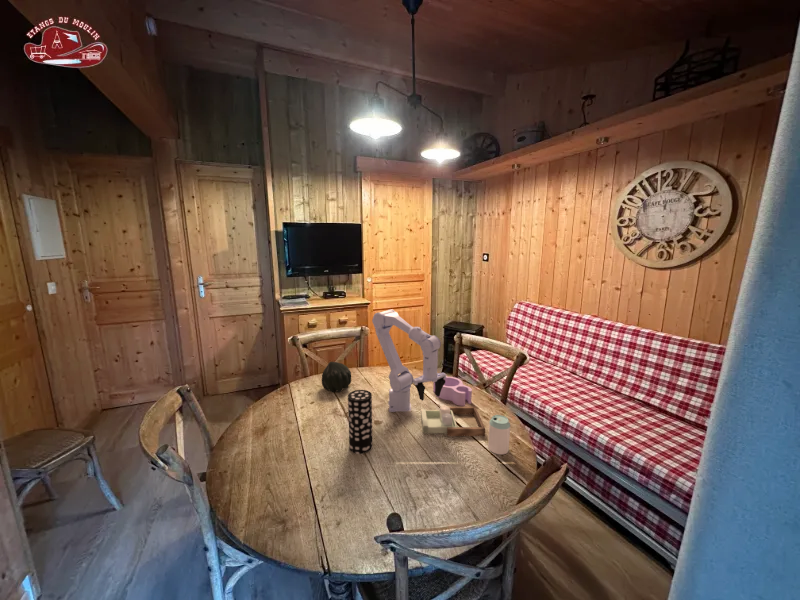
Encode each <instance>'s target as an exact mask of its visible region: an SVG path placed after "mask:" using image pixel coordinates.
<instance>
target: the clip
mask: <svg viewBox="0 0 800 600" xmlns="http://www.w3.org/2000/svg"><path fill="white" fill-rule="evenodd" d="M444 380H445V384H444V386H443V387H442V389H441V392H440V396H439V397H438V396H436V395H435V397H436V398H439V399H441V400H445V401H451V402H452V403H453V404H454V405H457V406H458V407H466V401H467V404H469V405H471V404H472V395H473V389H472V388H471V387H470V386H468V385H465V384H464V383H463V381H462V380H461V379H459V378H458V377H455V376H447V374H446V379H444ZM432 383H433V386H432V387H433V391H432V392H433V393H435V382H432Z"/></svg>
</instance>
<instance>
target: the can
mask: <svg viewBox="0 0 800 600" xmlns="http://www.w3.org/2000/svg"><path fill="white" fill-rule="evenodd" d="M510 432H511V423H510V422H509V419H508V417H507V416H505V415H502V414H495V415H493V416H491V419H490V420H489V424H488V440H487V441H488V442H487V443H488V444H487V449H488V450H489V451H490V452H492V453H493V454H495V455H505V454H508V453H509V448H510V436H511V433H510Z"/></svg>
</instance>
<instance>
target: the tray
mask: <svg viewBox="0 0 800 600" xmlns="http://www.w3.org/2000/svg"><path fill="white" fill-rule="evenodd" d="M450 414H451V415H452V416H453V417H452V426H441V421H440V409H426V408H421V409H420V419H421V425H422V434H447V427H458V426H457V425H458V424H457V422H456V417H455V414H453V412H452V410H450Z"/></svg>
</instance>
